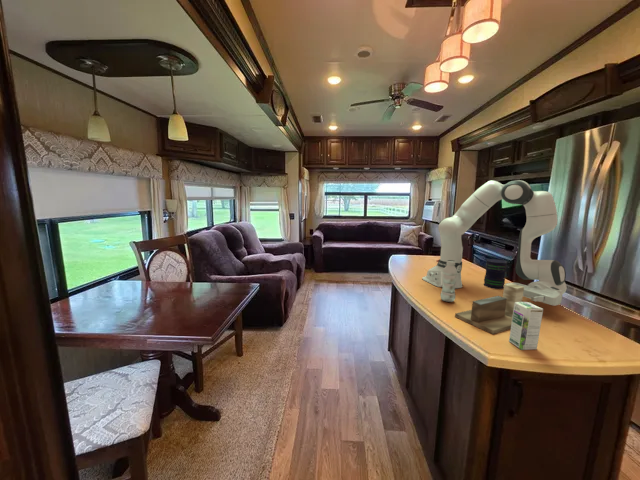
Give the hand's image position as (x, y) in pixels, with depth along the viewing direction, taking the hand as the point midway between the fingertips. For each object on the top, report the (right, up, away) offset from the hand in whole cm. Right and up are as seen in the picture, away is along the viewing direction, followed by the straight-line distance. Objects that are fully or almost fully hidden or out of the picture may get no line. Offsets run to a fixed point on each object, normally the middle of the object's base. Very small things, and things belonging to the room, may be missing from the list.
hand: (520, 295), depth 118 cm
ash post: (-5, -8, -1) cm, 10 cm away
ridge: (-19, -9, -7) cm, 22 cm away
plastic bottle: (-25, -6, +14) cm, 29 cm away
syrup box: (-18, -12, -26) cm, 34 cm away
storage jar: (+12, -3, +37) cm, 39 cm away
